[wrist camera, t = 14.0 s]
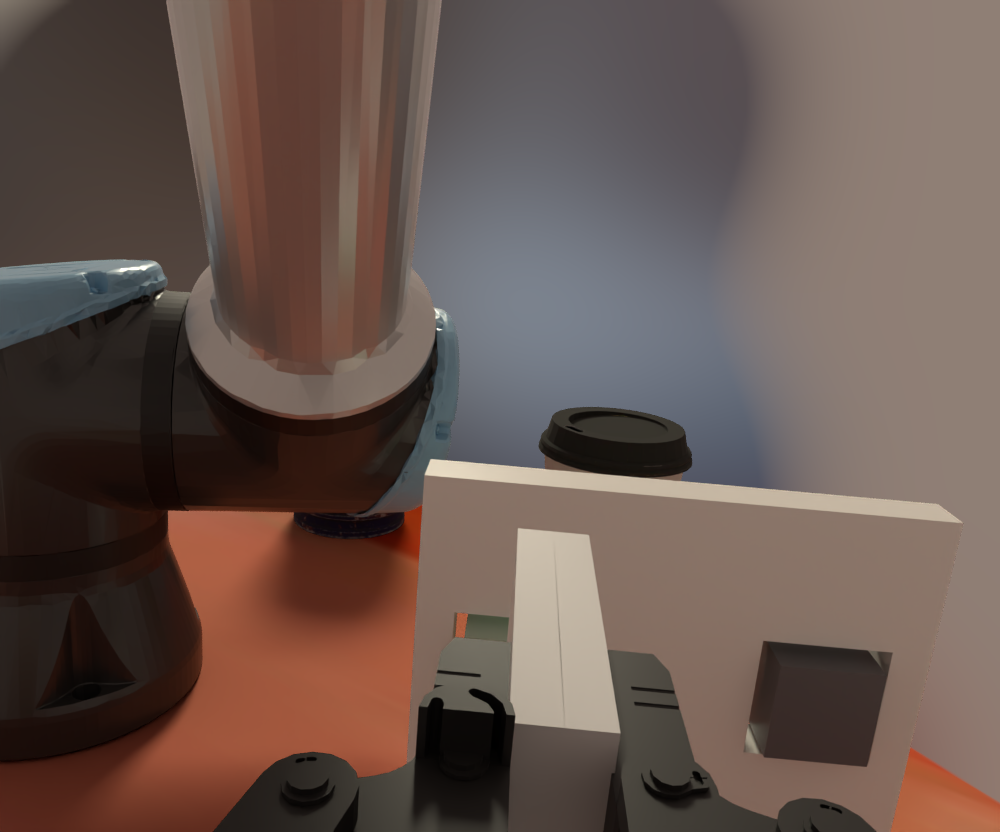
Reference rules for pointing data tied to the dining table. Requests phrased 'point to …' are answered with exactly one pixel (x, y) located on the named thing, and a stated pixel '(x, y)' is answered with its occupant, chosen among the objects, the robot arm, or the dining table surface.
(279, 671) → the dining table surface
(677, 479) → the coffee cup
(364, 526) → the storage jar
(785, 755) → the black button
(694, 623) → the button panel
